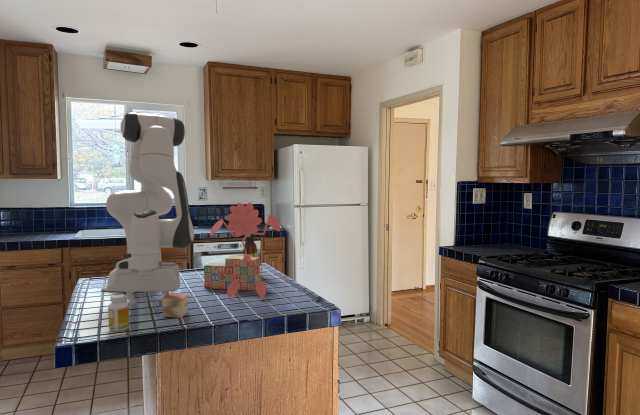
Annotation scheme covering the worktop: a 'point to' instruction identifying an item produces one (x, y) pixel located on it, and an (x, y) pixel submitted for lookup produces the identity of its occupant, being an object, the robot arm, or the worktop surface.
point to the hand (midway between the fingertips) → (148, 304)
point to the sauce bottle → (250, 246)
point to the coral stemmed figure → (247, 224)
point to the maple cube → (175, 305)
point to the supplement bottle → (118, 313)
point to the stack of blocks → (224, 276)
